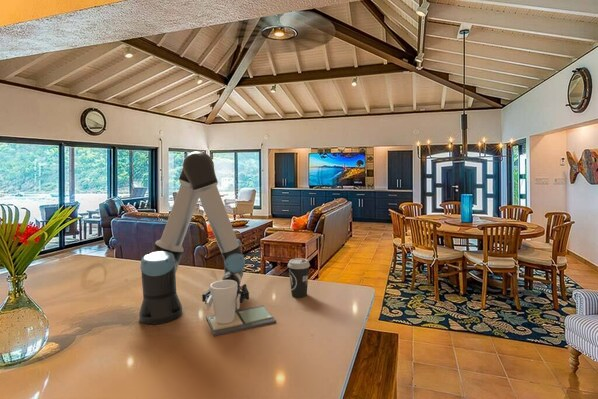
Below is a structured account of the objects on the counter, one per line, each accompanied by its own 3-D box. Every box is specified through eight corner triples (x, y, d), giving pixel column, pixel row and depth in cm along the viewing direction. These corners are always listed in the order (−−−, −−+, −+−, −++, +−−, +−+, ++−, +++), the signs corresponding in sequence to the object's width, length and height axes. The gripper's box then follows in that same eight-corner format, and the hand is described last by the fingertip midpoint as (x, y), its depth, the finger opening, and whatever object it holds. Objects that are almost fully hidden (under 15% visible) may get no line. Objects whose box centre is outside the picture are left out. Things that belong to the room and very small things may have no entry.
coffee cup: (301, 301, 142) (300, 265, 140) (283, 296, 147) (282, 261, 146) (314, 293, 149) (314, 259, 148) (297, 289, 155) (296, 256, 153)
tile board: (213, 336, 114) (213, 332, 114) (206, 318, 127) (206, 315, 127) (276, 322, 123) (276, 319, 123) (263, 307, 136) (262, 304, 136)
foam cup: (210, 316, 126) (208, 281, 124) (235, 312, 129) (234, 278, 127) (213, 327, 117) (211, 290, 115) (240, 322, 120) (239, 286, 119)
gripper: (258, 290, 141) (255, 314, 119) (203, 293, 139) (190, 317, 117) (257, 272, 140) (254, 293, 118) (202, 275, 139) (189, 296, 116)
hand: (222, 305), depth 118 cm, fingers closed on foam cup, 9 cm apart
